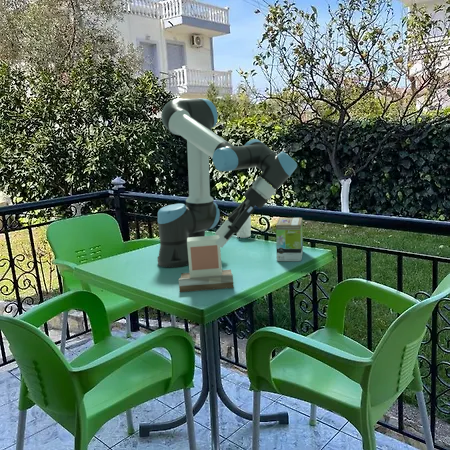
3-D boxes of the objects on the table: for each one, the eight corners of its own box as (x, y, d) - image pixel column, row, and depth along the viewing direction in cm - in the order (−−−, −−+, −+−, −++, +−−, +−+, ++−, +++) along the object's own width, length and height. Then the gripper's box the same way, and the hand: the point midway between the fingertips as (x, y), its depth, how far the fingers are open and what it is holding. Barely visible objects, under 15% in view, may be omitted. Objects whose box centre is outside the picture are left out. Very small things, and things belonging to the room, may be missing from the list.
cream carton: (190, 275, 158) (187, 237, 155) (221, 273, 158) (219, 235, 155) (190, 281, 152) (186, 241, 149) (222, 279, 152) (219, 239, 149)
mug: (208, 241, 215) (206, 221, 213) (204, 247, 203) (203, 227, 201) (191, 241, 216) (189, 222, 214) (187, 248, 204) (185, 228, 202)
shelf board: (181, 278, 162) (180, 266, 161) (231, 274, 162) (230, 263, 161) (179, 292, 148) (178, 279, 147) (233, 288, 148) (232, 275, 147)
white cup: (246, 233, 225) (245, 214, 223) (254, 236, 218) (253, 216, 216) (233, 236, 221) (231, 216, 219) (241, 239, 215) (239, 218, 213)
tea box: (302, 261, 172) (301, 224, 169) (276, 261, 174) (274, 224, 171) (303, 251, 187) (302, 216, 184) (279, 251, 189) (277, 217, 186)
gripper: (273, 206, 137) (228, 257, 140) (263, 195, 161) (225, 238, 164) (254, 190, 136) (209, 242, 139) (248, 181, 160) (209, 225, 163)
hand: (218, 240), depth 151 cm, fingers open, 13 cm apart
